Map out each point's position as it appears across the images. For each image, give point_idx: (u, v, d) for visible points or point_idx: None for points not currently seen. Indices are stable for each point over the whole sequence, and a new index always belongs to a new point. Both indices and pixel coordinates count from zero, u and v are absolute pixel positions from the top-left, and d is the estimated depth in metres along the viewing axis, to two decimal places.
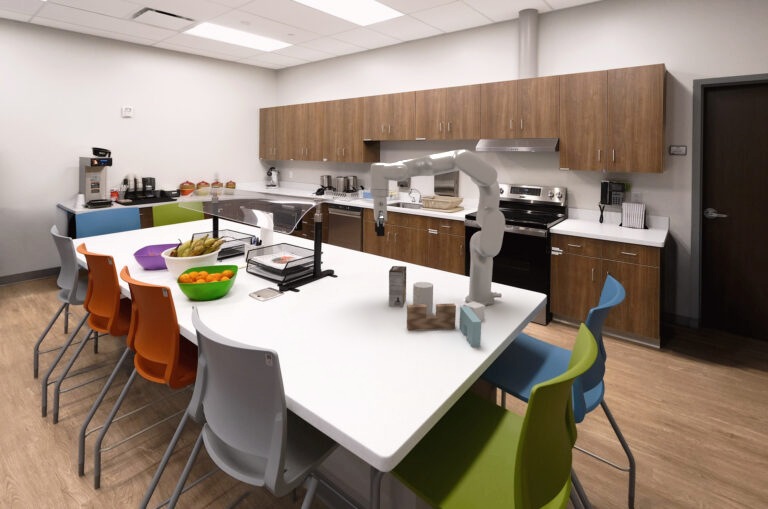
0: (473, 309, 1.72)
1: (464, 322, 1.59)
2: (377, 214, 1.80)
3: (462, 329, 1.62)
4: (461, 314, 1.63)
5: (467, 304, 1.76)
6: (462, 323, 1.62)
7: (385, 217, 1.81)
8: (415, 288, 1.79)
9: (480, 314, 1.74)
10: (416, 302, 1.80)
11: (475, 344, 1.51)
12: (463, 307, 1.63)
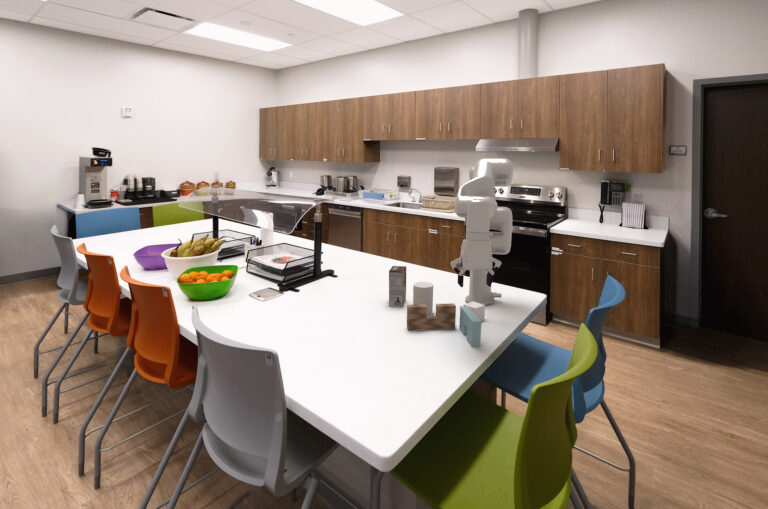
0: (473, 309, 1.72)
1: (464, 322, 1.59)
2: None
3: (462, 329, 1.62)
4: (461, 314, 1.63)
5: (467, 304, 1.76)
6: (462, 323, 1.62)
7: None
8: (415, 288, 1.79)
9: (480, 314, 1.74)
10: (416, 302, 1.80)
11: (475, 344, 1.51)
12: (463, 307, 1.63)
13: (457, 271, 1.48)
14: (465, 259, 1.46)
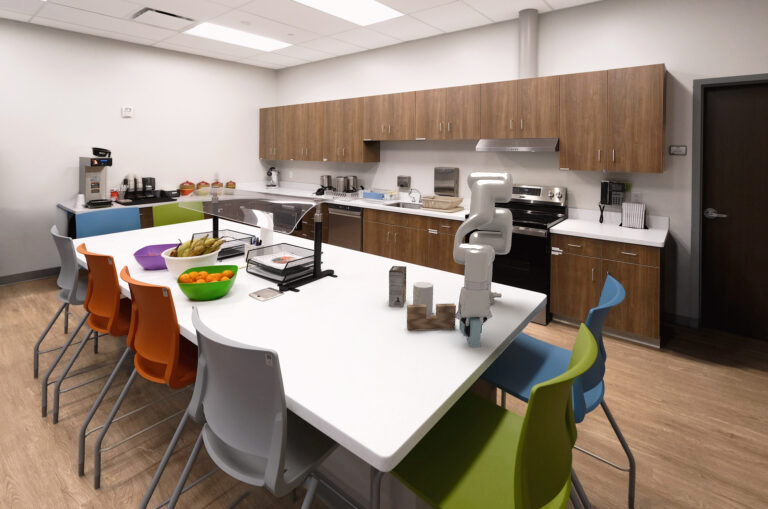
0: None
1: None
2: (489, 308, 1.51)
3: (462, 329, 1.62)
4: None
5: None
6: (462, 323, 1.62)
7: None
8: (415, 288, 1.79)
9: None
10: (416, 302, 1.80)
11: (475, 344, 1.51)
12: None
13: (464, 321, 1.52)
14: (463, 307, 1.50)
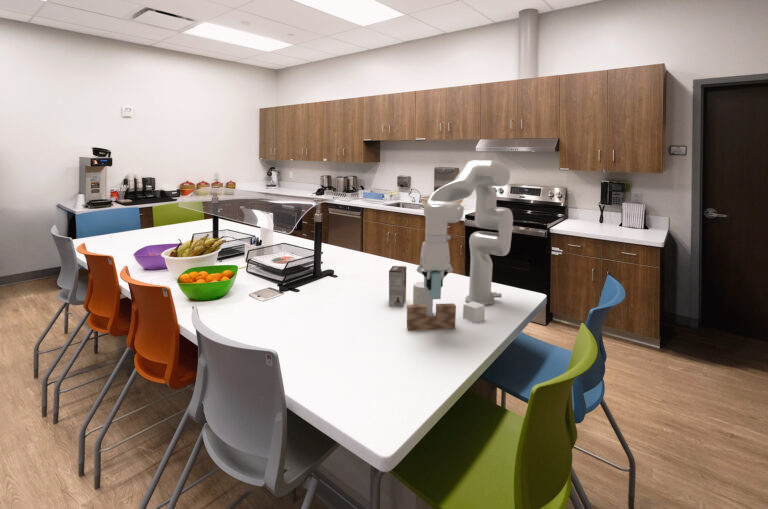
0: (473, 309, 1.72)
1: None
2: (449, 262, 1.57)
3: None
4: (425, 271, 1.68)
5: (467, 304, 1.76)
6: None
7: None
8: (415, 288, 1.79)
9: (480, 314, 1.74)
10: (416, 302, 1.80)
11: (436, 296, 1.56)
12: None
13: (425, 275, 1.58)
14: (424, 260, 1.55)
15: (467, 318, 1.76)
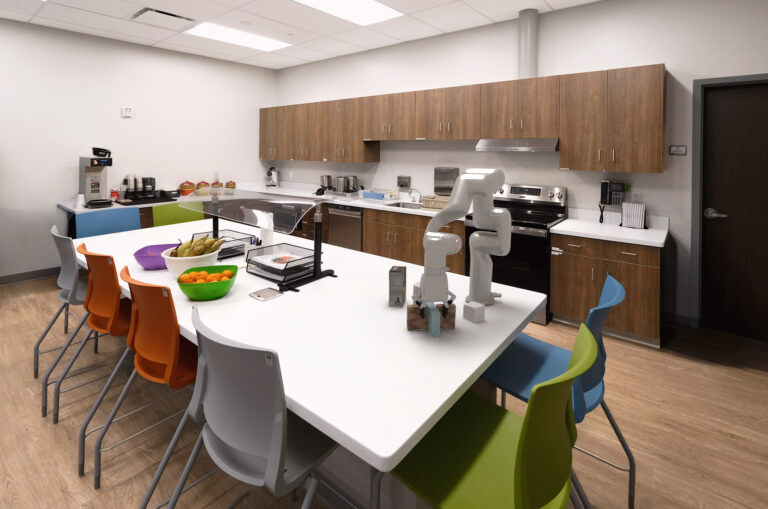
0: (473, 309, 1.72)
1: (426, 314, 1.68)
2: None
3: None
4: None
5: (467, 304, 1.76)
6: None
7: None
8: (415, 288, 1.79)
9: (480, 314, 1.74)
10: None
11: (435, 334, 1.59)
12: None
13: (418, 304, 1.60)
14: (423, 292, 1.58)
15: (467, 318, 1.76)
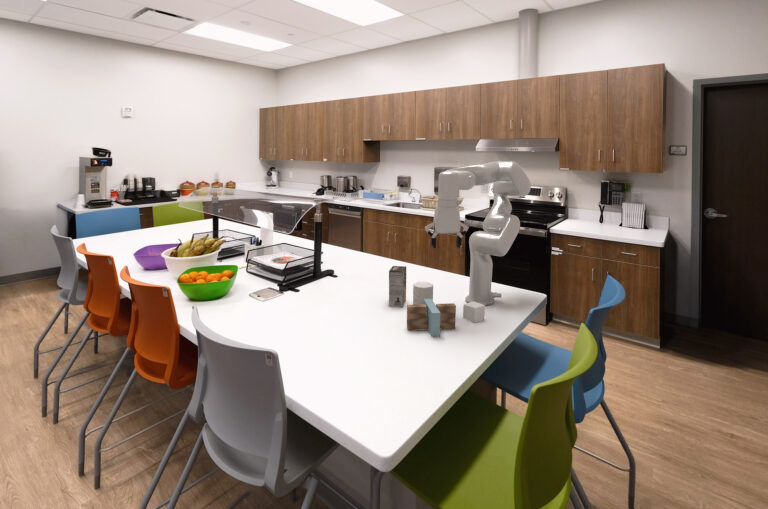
0: (473, 309, 1.72)
1: (426, 314, 1.68)
2: (460, 225, 1.72)
3: None
4: None
5: (467, 304, 1.76)
6: None
7: None
8: (415, 288, 1.79)
9: (480, 314, 1.74)
10: (416, 302, 1.80)
11: (435, 334, 1.59)
12: (426, 300, 1.72)
13: (430, 234, 1.72)
14: (437, 223, 1.70)
15: (467, 318, 1.76)
